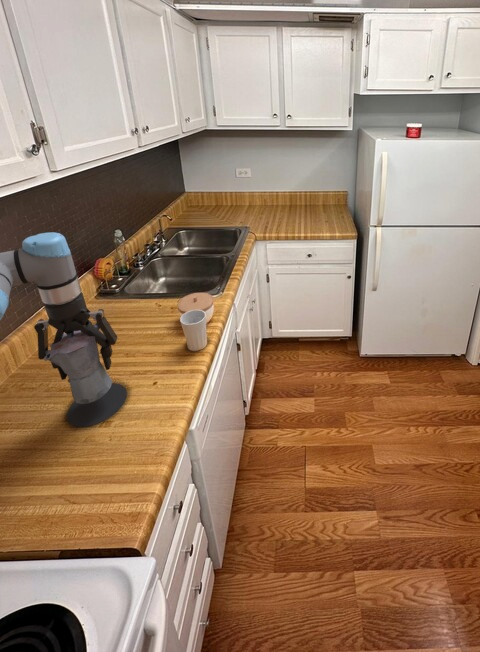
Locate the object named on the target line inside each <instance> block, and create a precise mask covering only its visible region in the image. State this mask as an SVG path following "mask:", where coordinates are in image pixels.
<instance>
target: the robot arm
mask: <svg viewBox="0 0 480 652" xmlns="http://www.w3.org/2000/svg"><path fill="white" fill-rule="evenodd" d="M21 246H22V247H21V248H19V249H14V250H8V251H4V252H0V321H2V319H3V318H4V315H5V313H6V311H7V309H8V308H9V304H10V295H11V291H12V288H13V287H16V286H17V287H18V286H21V285H26V284H29V283H32V282H35V285H36V288H37V290H38V292H39V296H40V299H41V302H42V303H43V308H44V310H45V313H46V316H47V317H48V318H47V319H44V318H40V319H38V320H37V321H36V323H35V325H34V327H33V329H34V330H35V332H36V333H37V357H38V359H39V360H44V358H45V356H46V354H47V353H48V352H49V351H50V350H51V349H49V327H50V326H51V327H53V328H54V329H56V333H55V335H54V339H53V342H52V343H53V344H55V343H57V342H60V340H61V338H62V337H63V334H65V333H66V332H68V331H81V332H82V333H86V334H87V335H88V336H95V341H96V342H97V345H99V346H100V349H99V351H100V352H101V354H100V355H101V358H102V362H103V364H104V365H103V366H104V368H105V370H106V371H108V370H111V365H112V359H111V357H112V355H113V353H114V351H113V348H112V346H114V345H116V344H117V340H118V335H117V333H116V332H115V330H114V329H113V327H112V326H111V324H110V322H109V321H108V319H107V317H106V316H105V311H104V308H99V309H98V310H95V311H91V310H90V309H88V307H87V303H86V300H85V296H84V293H83V291H82V286H81V283H80V280H79V277H78V274H77V271H76V267H75V263H74V260H73V256H72V252H71V249H70V247H69V245H68V242H67V239H66V237H65V236H64V235H63V234H62V233H59V232H42V233H38V234H35V235H30V236H27V237H26V238H25V239H24V240H23V241H22V243H21ZM90 318H91V319H92V320H93V321H94V322H96V323H97V324H98V326H99V328H100V329H99V330H98V329H97V328H96V327H95V326H93V325H94V324H93V322H92V321H91V320H90ZM100 352H99V353H100ZM50 364H51V366H52V368H53V369H54V370H56V369H57V370H58V373H59V375H60V378H61V381H63V380H66V379H67V377H68V375H67V374H65V372H64V371H63V370H62V368H61V367H60V366H58V365H56V364H54V363H53V362H51V361H50Z"/></svg>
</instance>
